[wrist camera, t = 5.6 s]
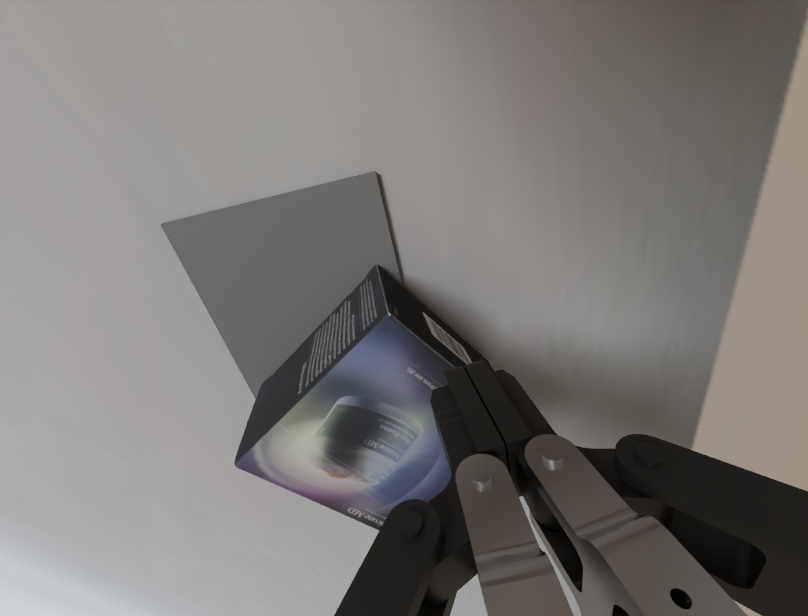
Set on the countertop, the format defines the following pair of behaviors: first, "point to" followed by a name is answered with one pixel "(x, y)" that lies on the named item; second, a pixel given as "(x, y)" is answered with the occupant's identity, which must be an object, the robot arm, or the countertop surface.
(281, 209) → the mat
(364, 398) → the small box
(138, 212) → the countertop surface
